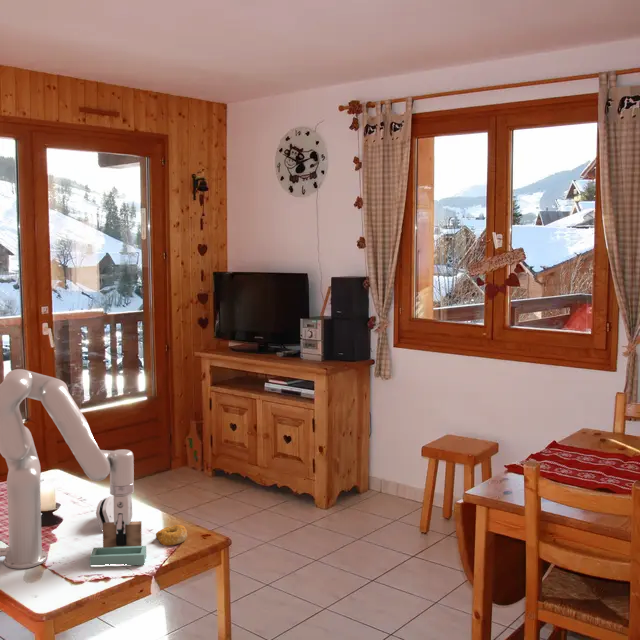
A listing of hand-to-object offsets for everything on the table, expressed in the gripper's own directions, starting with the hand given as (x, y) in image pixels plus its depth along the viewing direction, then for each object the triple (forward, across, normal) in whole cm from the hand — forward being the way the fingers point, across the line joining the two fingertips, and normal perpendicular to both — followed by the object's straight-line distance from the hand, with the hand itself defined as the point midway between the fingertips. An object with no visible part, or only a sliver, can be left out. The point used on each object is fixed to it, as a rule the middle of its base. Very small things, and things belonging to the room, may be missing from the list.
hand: (122, 541), depth 245 cm
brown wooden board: (+3, 0, 0) cm, 3 cm away
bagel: (+3, +6, -15) cm, 17 cm away
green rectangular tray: (+3, -10, 0) cm, 10 cm away
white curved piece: (+3, +24, +7) cm, 25 cm away
